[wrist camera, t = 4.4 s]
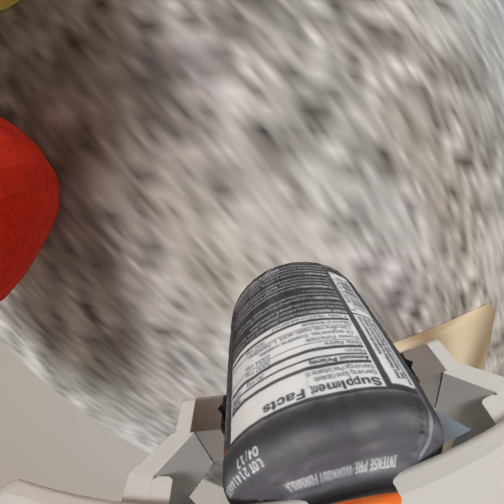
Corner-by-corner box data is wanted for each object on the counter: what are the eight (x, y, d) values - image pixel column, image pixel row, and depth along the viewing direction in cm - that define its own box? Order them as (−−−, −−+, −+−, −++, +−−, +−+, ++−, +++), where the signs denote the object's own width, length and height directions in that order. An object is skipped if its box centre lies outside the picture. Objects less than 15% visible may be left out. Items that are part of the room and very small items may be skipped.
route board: (487, 302, 18) (496, 309, 17) (453, 442, 24) (457, 449, 23) (293, 372, 18) (296, 383, 17) (321, 493, 24) (323, 501, 23)
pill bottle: (336, 372, 15) (398, 573, 5) (223, 360, 15) (205, 594, 4) (376, 269, 13) (536, 480, 3) (244, 246, 13) (240, 560, 2)
